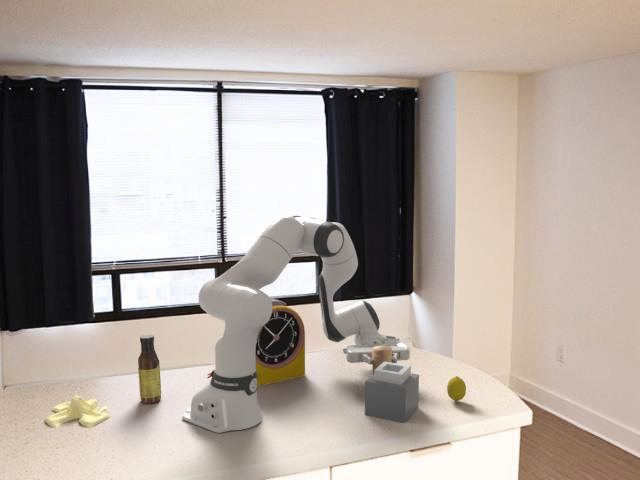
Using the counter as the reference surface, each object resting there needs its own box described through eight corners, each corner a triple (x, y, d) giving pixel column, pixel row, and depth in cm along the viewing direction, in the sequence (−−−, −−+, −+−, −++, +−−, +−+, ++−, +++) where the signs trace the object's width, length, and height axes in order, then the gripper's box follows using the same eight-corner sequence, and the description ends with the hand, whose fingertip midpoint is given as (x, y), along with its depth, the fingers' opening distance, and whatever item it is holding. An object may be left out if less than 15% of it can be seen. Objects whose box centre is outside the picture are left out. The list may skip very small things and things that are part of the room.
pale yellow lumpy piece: (109, 428, 168) (108, 406, 167) (36, 434, 165) (35, 412, 164) (119, 397, 190) (118, 377, 189) (55, 401, 186) (53, 382, 185)
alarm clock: (249, 388, 196) (248, 307, 192) (237, 379, 203) (236, 301, 200) (306, 375, 207) (305, 298, 203) (292, 367, 215) (291, 293, 211)
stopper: (369, 385, 190) (369, 350, 188) (376, 378, 195) (376, 344, 193) (387, 388, 187) (388, 352, 185) (394, 381, 192) (394, 347, 191)
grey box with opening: (364, 414, 176) (365, 371, 174) (379, 400, 186) (380, 358, 184) (405, 423, 170) (406, 378, 169) (418, 407, 181) (419, 364, 179)
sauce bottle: (165, 400, 186) (163, 336, 183) (147, 406, 181) (144, 341, 179) (153, 394, 190) (151, 332, 188) (135, 400, 186) (132, 336, 183)
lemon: (465, 406, 182) (466, 380, 181) (446, 404, 183) (447, 378, 182) (465, 399, 187) (466, 373, 186) (446, 397, 188) (447, 372, 187)
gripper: (341, 339, 201) (349, 353, 187) (402, 336, 203) (414, 350, 190) (341, 358, 201) (349, 372, 188) (402, 355, 204) (414, 369, 191)
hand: (382, 361), depth 189 cm, fingers closed on stopper, 6 cm apart
